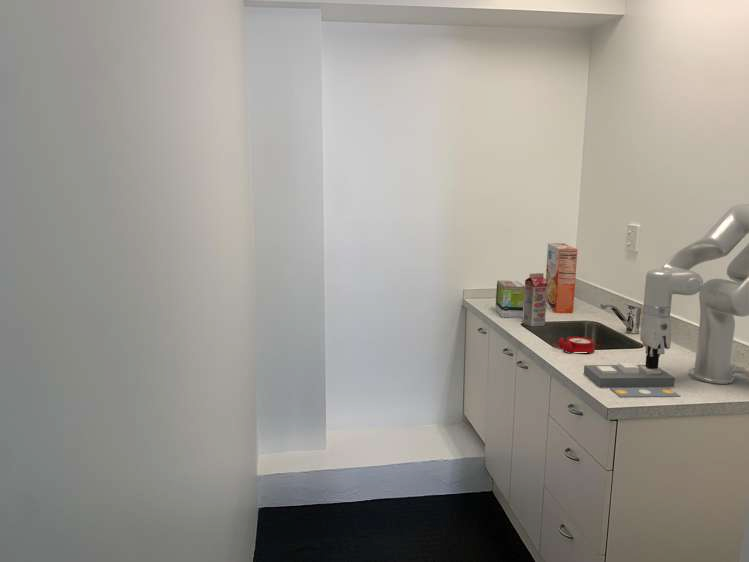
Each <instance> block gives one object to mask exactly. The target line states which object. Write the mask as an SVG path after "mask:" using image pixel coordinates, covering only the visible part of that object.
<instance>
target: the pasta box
mask: <svg viewBox="0 0 749 562" xmlns="http://www.w3.org/2000/svg"><path fill="white" fill-rule="evenodd" d="M577 261H578V249H577V248H576V247H573V246H571V245H570V244H569V245H568V244H567V243H561V242H560V243H556V242H555V243H552V242H551V243H550V242H548V243H547V253H546V269H545V280H546V281H547V282H548V284H547V299H546V303H547V304H548V305H549V306H550V308H551V309H552V310H551V309H550V308H549V309H550V310H551V311H553V313H554V314H574V303H575V301H574V299H575V287H576V286H575V285H576V273H577Z"/></svg>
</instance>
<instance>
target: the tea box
mask: <svg viewBox="0 0 749 562" xmlns="http://www.w3.org/2000/svg"><path fill="white" fill-rule="evenodd" d="M524 291H525V284H524V285H523V283H521V282H520V281H518V280H497V281H496V291H495V309H494V310H495V311H496V313H497V314H498V315H499V316H500V317H501V318H503V317H505V318H506V319H507V318H508V319H510V318H511V319H523V309H524Z"/></svg>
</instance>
